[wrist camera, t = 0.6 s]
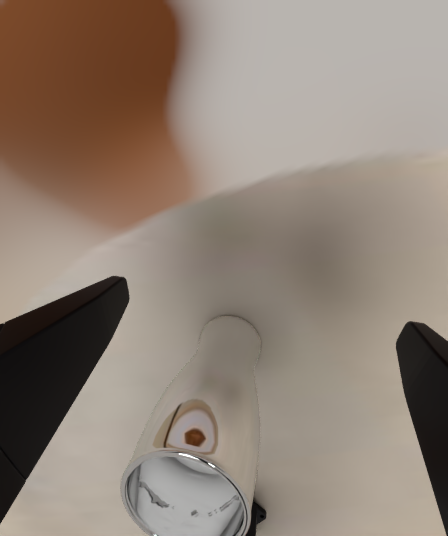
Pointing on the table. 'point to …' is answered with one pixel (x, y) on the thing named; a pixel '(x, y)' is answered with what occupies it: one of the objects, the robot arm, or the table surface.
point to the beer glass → (201, 442)
